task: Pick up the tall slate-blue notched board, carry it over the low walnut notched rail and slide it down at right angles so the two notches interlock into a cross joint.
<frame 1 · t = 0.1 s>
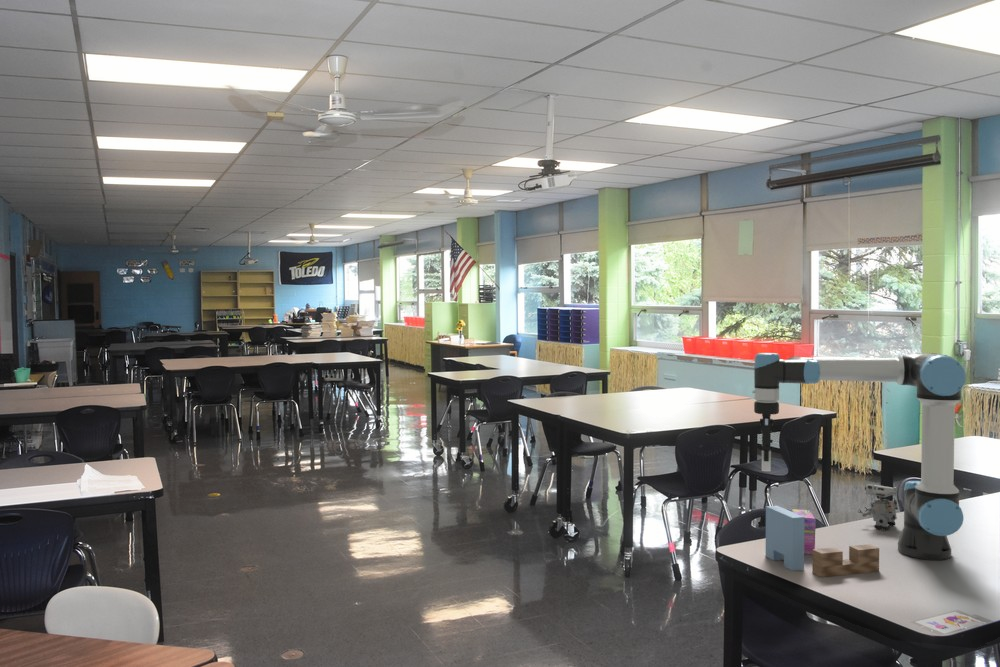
hand: (766, 467, 245), 28 cm above the table, fingers open, 13 cm apart
figurine: (878, 527, 276), on the table
board: (784, 562, 237), on the table
rail: (845, 571, 228), on the table
box: (803, 549, 250), on the table
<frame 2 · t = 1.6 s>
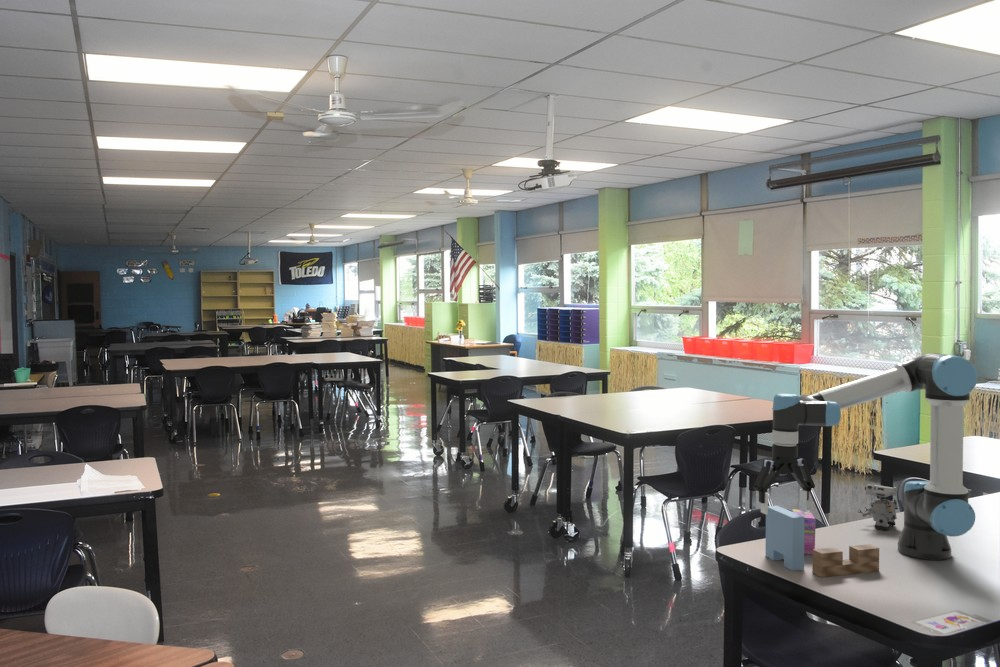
hand: (783, 512, 236), 16 cm above the table, fingers open, 13 cm apart
nothing on the table moved.
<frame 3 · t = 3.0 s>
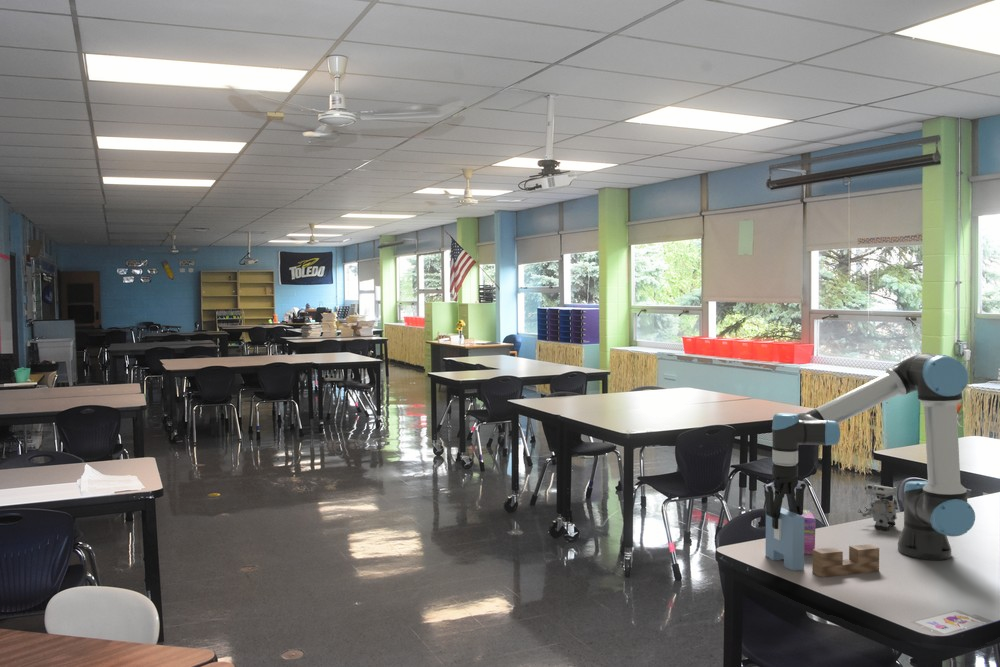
hand: (784, 538, 237), 8 cm above the table, fingers closed on board, 4 cm apart
board: (784, 562, 237), on the table, touching gripper
everything else where it was.
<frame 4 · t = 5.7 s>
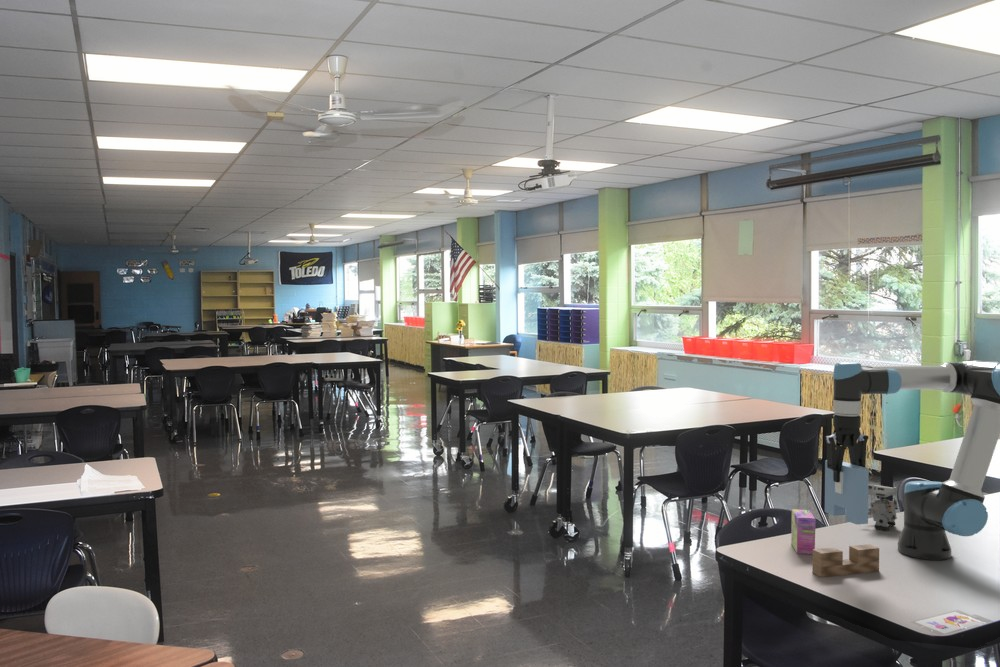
hand: (846, 492, 228), 24 cm above the table, fingers closed on board, 4 cm apart
board: (845, 517, 228), point 16 cm above the table, touching gripper
everything else where it was.
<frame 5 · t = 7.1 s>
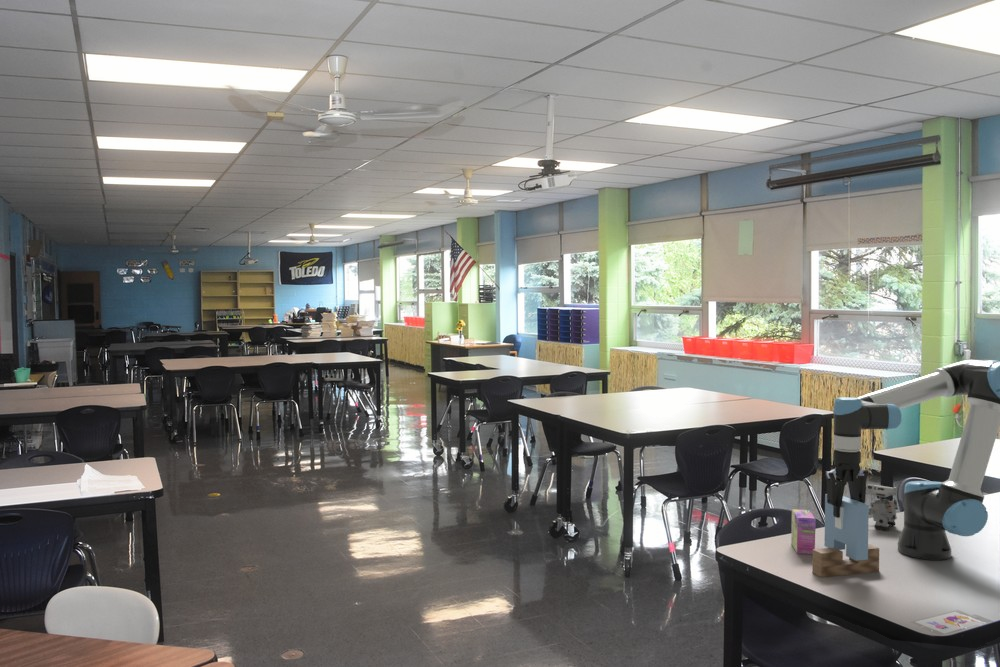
hand: (845, 527, 228), 13 cm above the table, fingers closed on board, 4 cm apart
board: (845, 552, 228), point 6 cm above the table, touching gripper
everything else where it was.
when the fingers open (9 cm above the table, at t = 8.2 s): board drops 1 cm, on the table.
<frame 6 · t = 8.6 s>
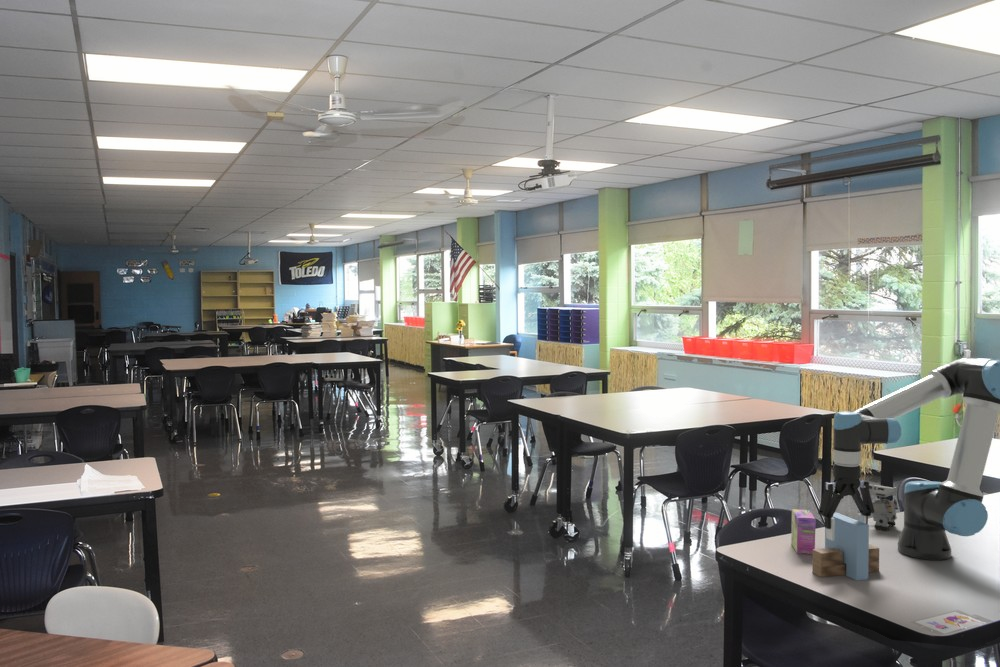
hand: (846, 537, 228), 10 cm above the table, fingers open, 10 cm apart
board: (845, 571, 228), on the table
everything else where it was.
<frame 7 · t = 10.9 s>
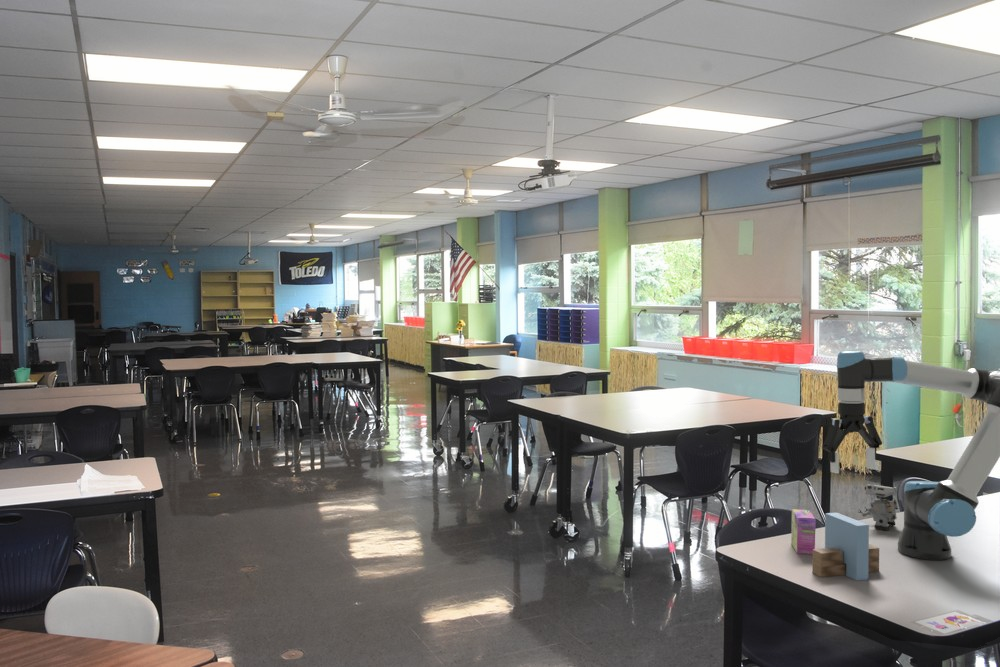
hand: (853, 470, 234), 29 cm above the table, fingers open, 13 cm apart
nothing on the table moved.
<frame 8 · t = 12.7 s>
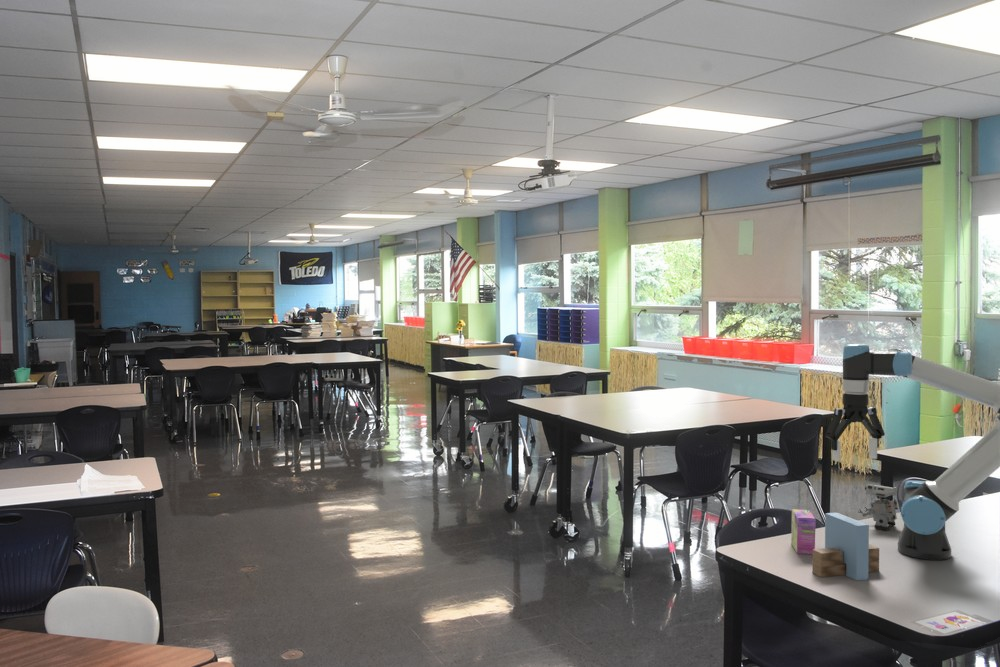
hand: (854, 459, 243), 31 cm above the table, fingers open, 13 cm apart
nothing on the table moved.
at the end: board 0.1 cm off-centre on the rail, point 0.0 cm above the rail's base; board tilted 0°; the gripper is holding nothing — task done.
